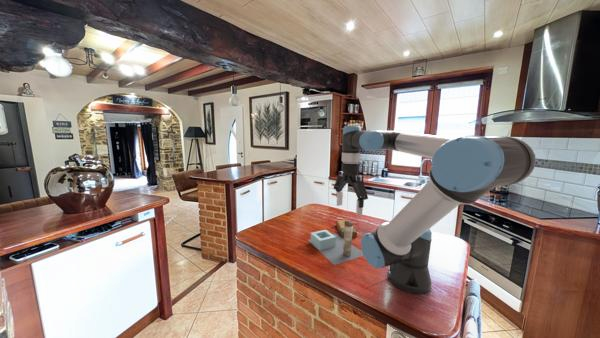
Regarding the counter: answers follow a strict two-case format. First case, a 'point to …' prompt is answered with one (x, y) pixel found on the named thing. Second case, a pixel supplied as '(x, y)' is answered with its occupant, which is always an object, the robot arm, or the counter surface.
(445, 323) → the counter surface
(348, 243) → the tan wooden dowel
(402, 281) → the robot arm
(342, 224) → the carton
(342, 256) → the mat
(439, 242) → the counter surface
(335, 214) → the counter surface
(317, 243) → the rectangular frame
